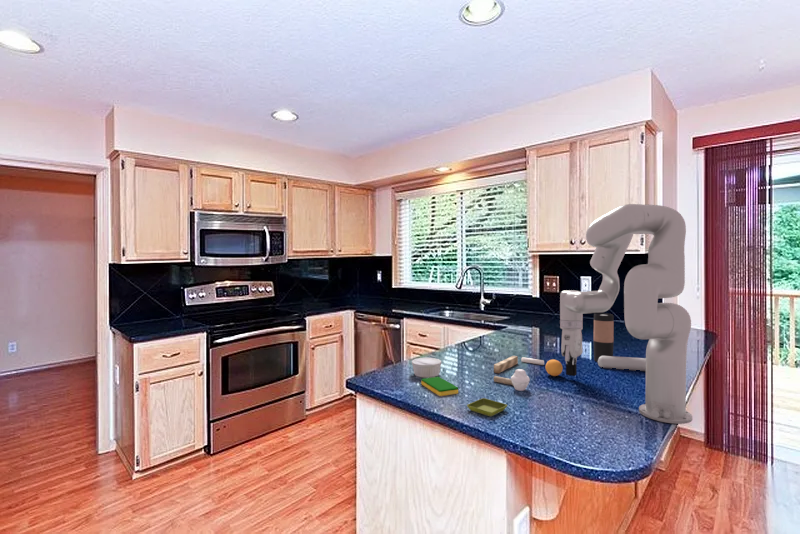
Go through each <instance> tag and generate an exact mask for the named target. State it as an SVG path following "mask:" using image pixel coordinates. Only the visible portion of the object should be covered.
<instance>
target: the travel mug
mask: <svg viewBox="0 0 800 534" xmlns="http://www.w3.org/2000/svg"><path fill="white" fill-rule="evenodd" d="M614 323H615V321H614V315H613V314H611V313H608V312H607V313H605V312H599V313H593V360H594V362H596V363H598V359H599V357H600V356H614V345H615V344H614V343H615V342H614V341H615V340H614V339H615V338H614V331H615V330H614Z"/></svg>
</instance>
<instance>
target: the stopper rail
mask: <svg viewBox="0 0 800 534" xmlns="http://www.w3.org/2000/svg"><path fill="white" fill-rule="evenodd" d="M518 361H519V358H518V356H517V355H512V356H509V357H508V358H505V359H504V360H501V361H499V362H496V363H494V364H493V373H496V374H500V373H501V372H502V373H503V372H504V371H506V370H508V369H510V368H512V367H514V366H516V365H518V363H519V362H518Z"/></svg>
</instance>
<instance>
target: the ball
mask: <svg viewBox="0 0 800 534" xmlns="http://www.w3.org/2000/svg"><path fill="white" fill-rule="evenodd" d="M544 367H545V371H546V372H547V374H548V375H550V376H552V377H556V376H557V377H558V376H560V375H561V374H562V372H563V365H562V362H560V361H559V360H557V359H550V360H547V362H546V364H545V366H544Z"/></svg>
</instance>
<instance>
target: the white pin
mask: <svg viewBox="0 0 800 534" xmlns="http://www.w3.org/2000/svg"><path fill="white" fill-rule="evenodd" d="M520 361H521V363H527V364H534V365H539V366H544V365H545V360H543V359H535V358H531V357H524V356H522V357H521V359H520Z"/></svg>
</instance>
